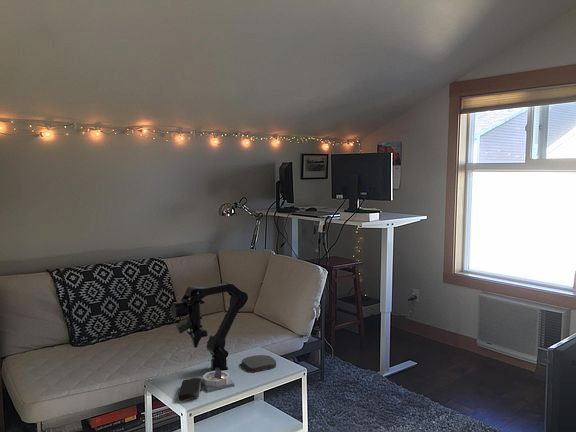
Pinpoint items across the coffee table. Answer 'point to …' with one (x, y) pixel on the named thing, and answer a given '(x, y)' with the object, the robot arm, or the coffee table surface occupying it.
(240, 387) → the coffee table surface
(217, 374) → the dial
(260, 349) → the coffee table surface
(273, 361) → the media streaming box
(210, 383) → the dial panel
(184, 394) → the black sponge
